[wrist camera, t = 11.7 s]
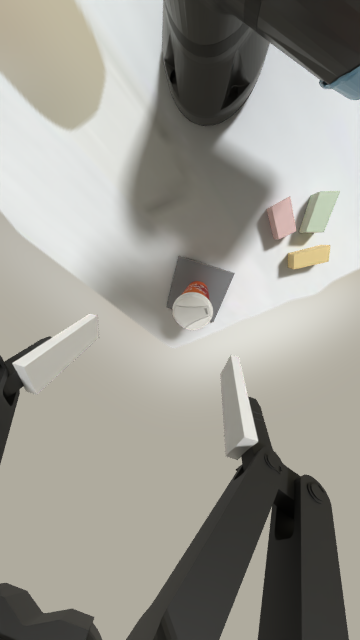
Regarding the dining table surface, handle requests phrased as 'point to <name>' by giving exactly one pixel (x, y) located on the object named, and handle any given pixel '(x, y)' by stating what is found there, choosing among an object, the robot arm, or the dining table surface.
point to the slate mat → (207, 274)
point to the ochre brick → (308, 256)
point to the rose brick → (281, 219)
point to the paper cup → (193, 307)
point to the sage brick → (318, 211)
